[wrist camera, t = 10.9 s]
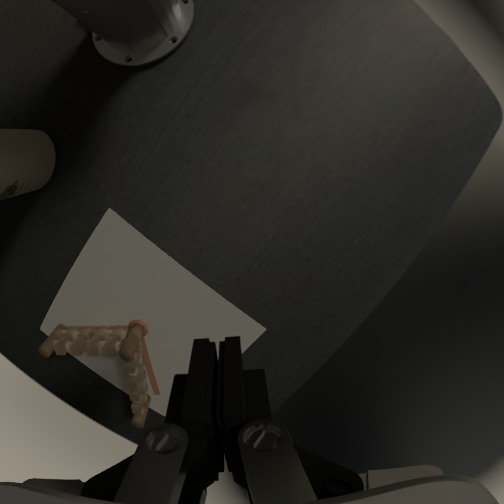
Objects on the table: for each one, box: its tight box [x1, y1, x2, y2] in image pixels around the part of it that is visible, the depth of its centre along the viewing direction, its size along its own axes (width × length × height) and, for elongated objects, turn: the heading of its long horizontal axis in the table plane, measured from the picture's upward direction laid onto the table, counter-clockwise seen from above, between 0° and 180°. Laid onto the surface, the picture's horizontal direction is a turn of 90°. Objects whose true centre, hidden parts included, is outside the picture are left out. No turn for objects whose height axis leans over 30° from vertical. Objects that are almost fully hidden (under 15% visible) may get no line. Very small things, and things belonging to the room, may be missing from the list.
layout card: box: [40, 208, 266, 416], centre depth 41 cm, size 25×23×1 cm
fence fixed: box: [39, 323, 145, 361], centre depth 37 cm, size 14×2×6 cm, turn 94°
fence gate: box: [124, 341, 151, 428], centre depth 40 cm, size 12×2×6 cm, turn 175°
